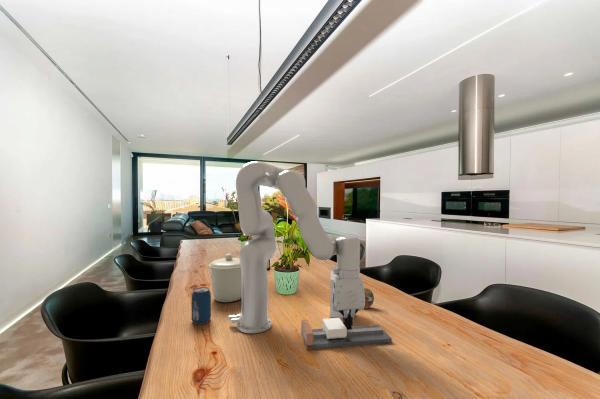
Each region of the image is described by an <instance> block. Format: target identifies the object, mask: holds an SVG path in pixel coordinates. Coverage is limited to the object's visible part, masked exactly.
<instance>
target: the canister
mask: <svg viewBox="0 0 600 399" xmlns="http://www.w3.org/2000/svg"><path fill="white" fill-rule="evenodd" d="M208 268H210V269H209V271H210V279H211V280H210V281H211V288H212V289H211V290H212V294H213V298H214V299H215V301H217V302H220V303H233V302H236V301H238V300H240V299H241V287H242V284H241V265H240V259H239V257H234V255H233V254H232V253H231V252H229V253H226V254H225V255H224V257H223V258H218V259H214V260H213V261H211V262H210V263H208Z"/></svg>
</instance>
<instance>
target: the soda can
mask: <svg viewBox="0 0 600 399" xmlns="http://www.w3.org/2000/svg"><path fill="white" fill-rule="evenodd" d="M211 318H212V292H211V291H210V288H209V287H206V286H205V287H204V286H201V287H197V288H194V289H193V292H192V293H191V320H192V323H193V324H194V323H195V325H204V324H207V323H208V322H209V321H210V320H211Z"/></svg>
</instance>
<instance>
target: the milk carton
mask: <svg viewBox="0 0 600 399" xmlns="http://www.w3.org/2000/svg"><path fill="white" fill-rule="evenodd" d="M336 267H337V266H336ZM336 267H334V266H331V268H330V278H329V280H330V284H329V286H330V288H329V290H330V291H329V295H330V298H329V302H330V303H329V305H330V306H329V307H330V308H329V312H330V313H329V317H330V318H340V319H343V315H342V314H341V313H340V312H334V311H333V310H332V307H333V301H332V297H333V286H334V280H335V277H336V276H337V275H335V274H333V270H336ZM348 312H349V310H347V314H348Z"/></svg>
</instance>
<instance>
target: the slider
mask: <svg viewBox="0 0 600 399" xmlns="http://www.w3.org/2000/svg"><path fill="white" fill-rule="evenodd" d="M321 321H322V323H321V324H322V325H321V326H322V329H323V331H325V332H326V337H327V339H333V338H345V336H347V328H346V327H345V325H344V324H343V320H342V319H341V318H335V317H330V318H322V320H321Z"/></svg>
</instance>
